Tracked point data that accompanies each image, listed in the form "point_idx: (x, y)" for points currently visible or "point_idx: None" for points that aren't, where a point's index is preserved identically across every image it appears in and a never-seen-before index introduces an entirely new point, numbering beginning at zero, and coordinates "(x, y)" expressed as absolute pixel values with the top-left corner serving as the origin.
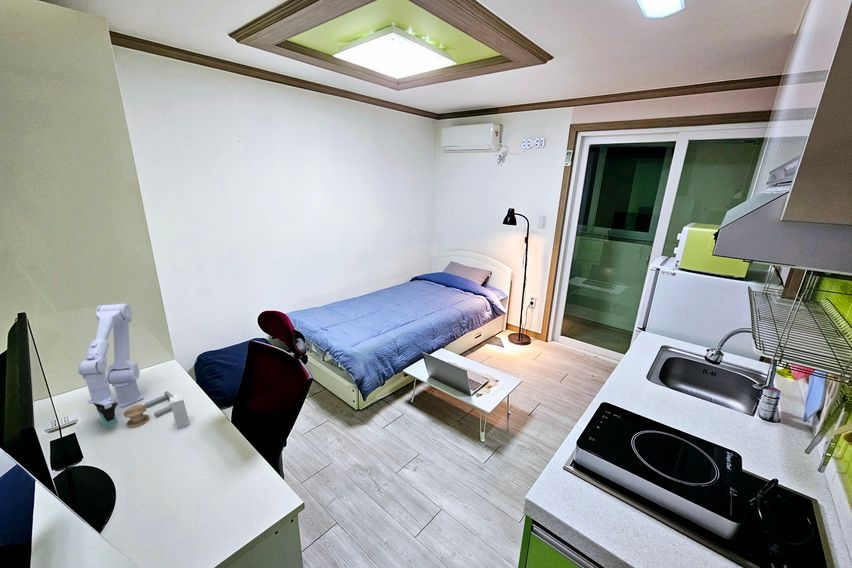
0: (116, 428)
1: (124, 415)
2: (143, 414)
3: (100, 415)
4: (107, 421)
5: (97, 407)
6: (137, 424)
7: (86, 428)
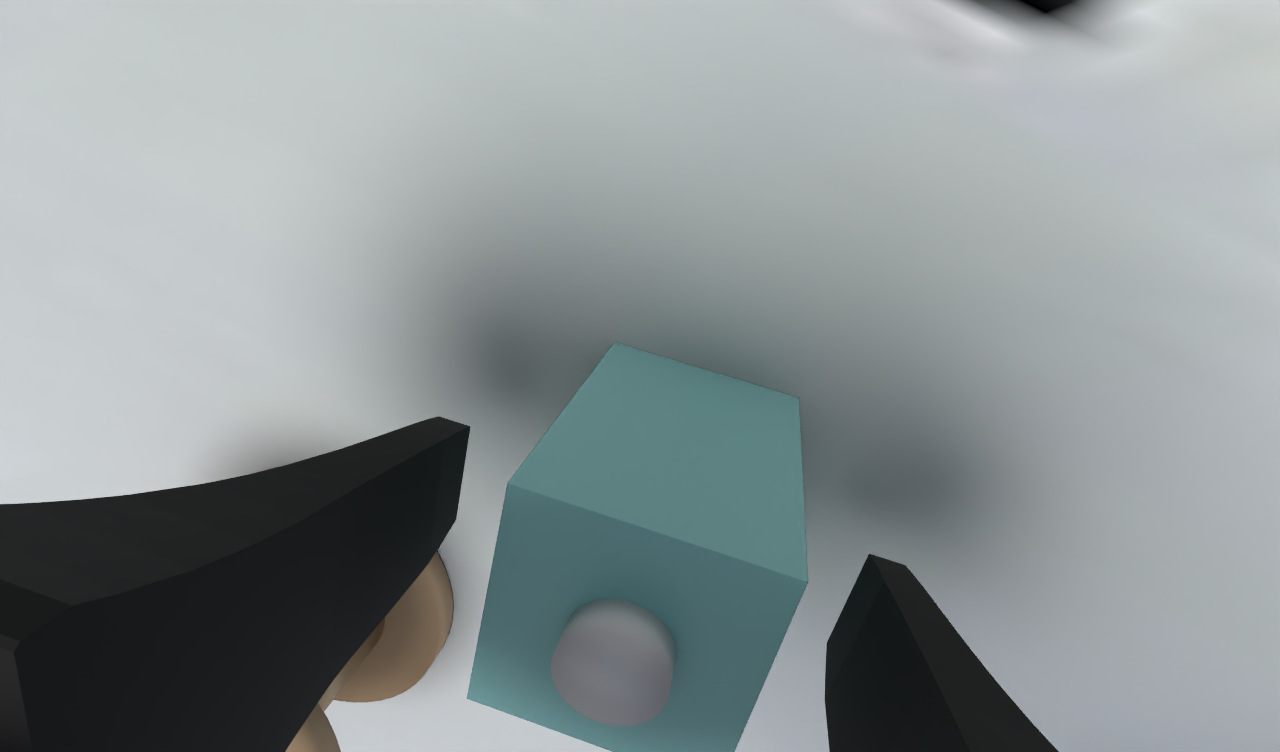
0: (432, 395)
1: None
2: (384, 696)
3: (578, 488)
4: (429, 420)
5: (943, 710)
6: None
7: (953, 215)
